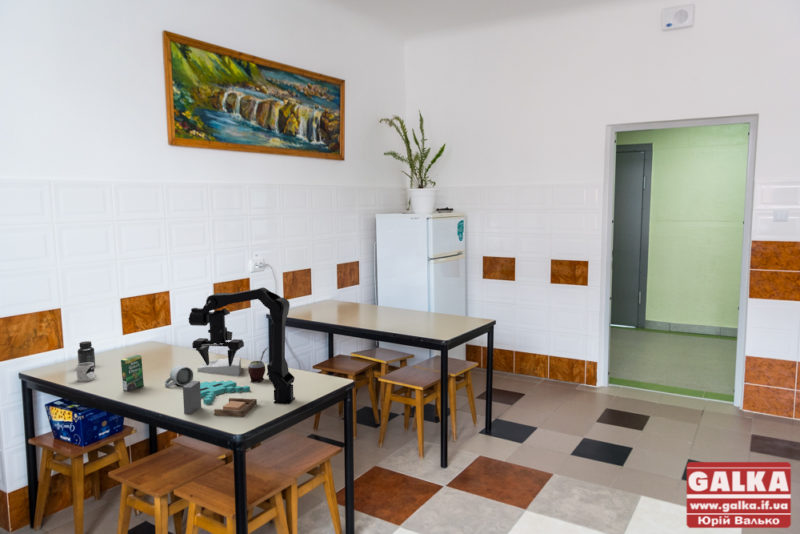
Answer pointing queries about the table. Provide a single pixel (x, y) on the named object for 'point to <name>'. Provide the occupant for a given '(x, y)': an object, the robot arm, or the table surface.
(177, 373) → the ceramic mug
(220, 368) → the ramp
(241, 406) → the terracotta tile
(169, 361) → the table surface
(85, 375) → the mug
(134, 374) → the coffee box
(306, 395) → the table surface
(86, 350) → the supplement bottle
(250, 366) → the mate gourd
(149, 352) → the table surface
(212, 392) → the alien figure
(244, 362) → the table surface
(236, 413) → the walnut bay
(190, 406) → the grey matte slab
